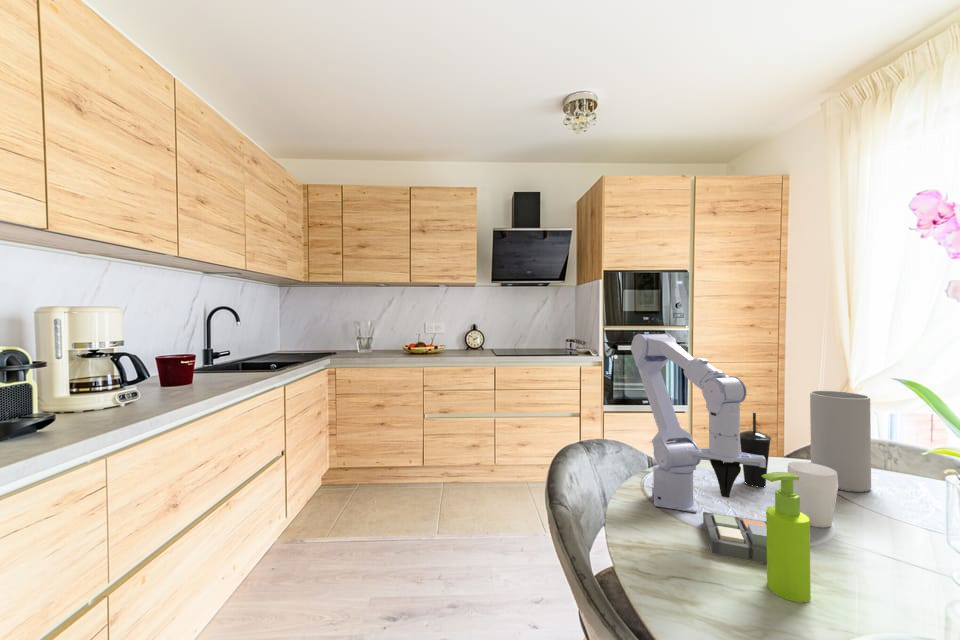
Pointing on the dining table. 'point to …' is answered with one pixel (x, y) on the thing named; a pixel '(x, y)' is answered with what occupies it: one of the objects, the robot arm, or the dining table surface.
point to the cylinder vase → (842, 437)
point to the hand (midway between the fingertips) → (724, 495)
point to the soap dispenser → (787, 542)
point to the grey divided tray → (730, 547)
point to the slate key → (757, 535)
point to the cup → (815, 491)
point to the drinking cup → (758, 446)
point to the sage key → (724, 521)
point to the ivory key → (729, 534)
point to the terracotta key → (752, 522)
